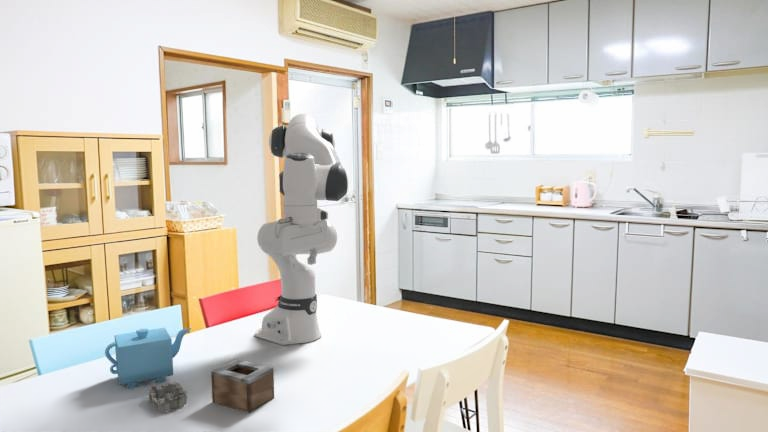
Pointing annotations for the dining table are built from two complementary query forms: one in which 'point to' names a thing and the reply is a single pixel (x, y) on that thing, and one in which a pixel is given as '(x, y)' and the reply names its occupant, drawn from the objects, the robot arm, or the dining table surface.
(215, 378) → the box
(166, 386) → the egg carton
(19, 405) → the dining table surface
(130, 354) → the teapot
